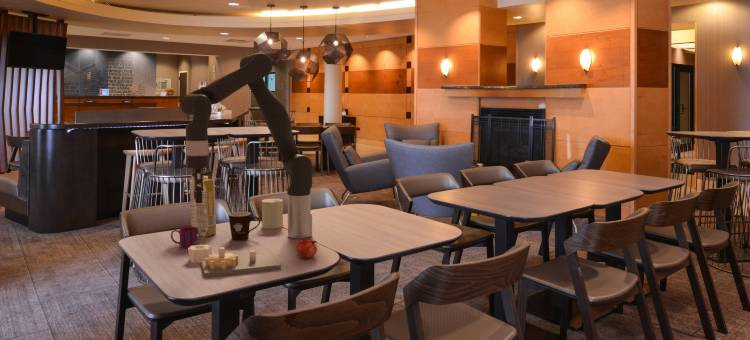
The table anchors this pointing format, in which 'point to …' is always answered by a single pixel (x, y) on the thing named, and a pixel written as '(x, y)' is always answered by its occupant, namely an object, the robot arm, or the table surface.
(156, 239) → the table surface
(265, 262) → the gear board
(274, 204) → the can
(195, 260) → the loose gear
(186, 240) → the cup
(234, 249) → the table surface
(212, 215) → the juice carton
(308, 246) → the pomegranate
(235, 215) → the coffee mug
